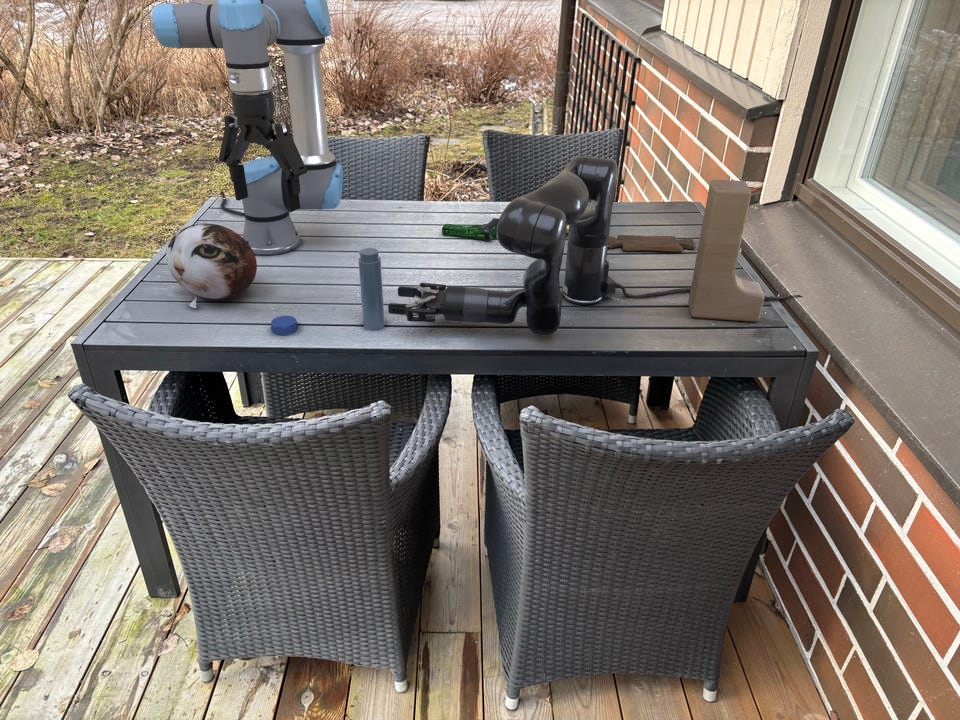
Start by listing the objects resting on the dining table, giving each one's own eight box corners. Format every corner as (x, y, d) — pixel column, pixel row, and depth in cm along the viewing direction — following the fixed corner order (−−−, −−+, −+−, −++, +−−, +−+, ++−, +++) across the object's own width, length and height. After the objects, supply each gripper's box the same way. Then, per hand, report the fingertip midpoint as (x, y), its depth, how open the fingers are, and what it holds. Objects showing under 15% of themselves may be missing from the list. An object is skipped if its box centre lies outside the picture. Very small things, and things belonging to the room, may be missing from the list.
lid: (291, 336, 153) (290, 328, 152) (267, 334, 154) (266, 325, 153) (301, 325, 157) (300, 316, 156) (278, 322, 158) (277, 314, 157)
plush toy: (130, 285, 161) (164, 203, 163) (192, 308, 177) (221, 233, 178) (195, 307, 151) (229, 220, 152) (254, 330, 166) (285, 250, 168)
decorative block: (759, 323, 161) (790, 192, 145) (691, 318, 162) (715, 188, 147) (752, 308, 167) (782, 182, 152) (687, 303, 169) (710, 178, 153)
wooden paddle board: (698, 254, 196) (690, 241, 205) (699, 248, 195) (691, 235, 204) (604, 251, 196) (600, 238, 205) (605, 245, 195) (601, 232, 204)
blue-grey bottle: (360, 322, 159) (355, 248, 150) (381, 318, 160) (376, 245, 151) (366, 331, 155) (361, 256, 146) (387, 328, 157) (383, 253, 148)
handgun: (511, 219, 210) (493, 234, 198) (511, 228, 211) (492, 244, 199) (461, 212, 215) (440, 226, 203) (461, 221, 217) (440, 236, 204)
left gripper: (186, 87, 133) (207, 198, 144) (290, 102, 123) (304, 220, 133) (217, 81, 138) (235, 189, 149) (318, 95, 128) (329, 209, 139)
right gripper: (472, 275, 157) (400, 270, 158) (462, 303, 145) (384, 298, 146) (472, 306, 161) (401, 301, 162) (462, 336, 148) (386, 330, 150)
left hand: (267, 204), depth 141 cm, fingers open, 13 cm apart
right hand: (393, 299), depth 154 cm, fingers open, 8 cm apart
